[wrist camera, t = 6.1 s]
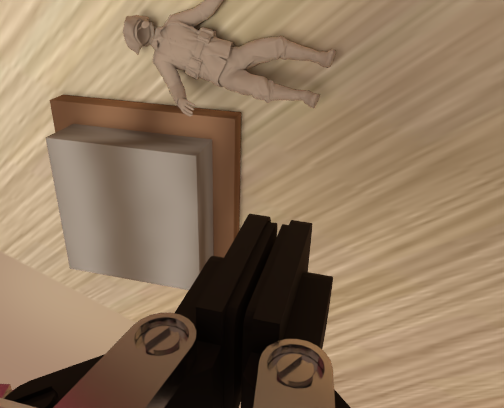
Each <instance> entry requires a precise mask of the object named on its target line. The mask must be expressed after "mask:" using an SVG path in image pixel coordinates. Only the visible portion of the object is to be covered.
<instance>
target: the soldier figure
mask: <svg viewBox="0 0 504 408" xmlns="http://www.w3.org/2000/svg"><path fill="white" fill-rule="evenodd" d="M222 1H223V0H204V1H203V2H201V4H199V5H197V6H196V7H194V8H192V9H188V10H185V11H182V12H179V13H176V14H173V15H170V16H169V18H168V19H167V21H166V22H165V25H164V26H163V27H157V28H156V27H155V28H156V30H155V34H154V27H153V26H152V25H153V24H154V22H151V23H149V22H148V20H149V18H148V17H144V16H138V15H135V16H127V17H126V20H125V22H124V29H123V34H124V37H125V41H126V44H127V46H128V47H129V48H130V49H131V50H133V51H135V52H136V54H137V55H138V54H139V51H140V49H141V47H142V46H149V45H151V46H152V47H153V48H154V49H155V53H154V57H153V63H154V64H155V65H156V67H157V69H158V70H159V72H160V74H161V76H162V77H163V79H164V81H165V83H166V84H167V86H168V88H169V92H170V94H171V95H172V97H173V99H174V101H175V103H176V104H177V106H178V107H179V108H180V109H181V111H182V112H183V113H184V114H186V115H188V116H190V117H191V116H193V114H192V113H193V112H192V111H190V110H189V109H191V110H194V108H192V107H191V106H189V105H188V104H190V105H192V106H195V104H193V103H191V102H189V101H188V100H187V97H186V92H185V89H184V86H183V83H182V82H181V79H180V76H179V73H178V71H177V70H176V69H181V70H185V73H186V74H188V75H190V76H191V77H193V78H195V79H196V80H197V79H198V78H199V77H200V78H202V79H205V80H207V81H211V82H212V83H213V84H215V85H216V86H219V87H225V88H226V89H228V90H231V91H234V92H238V93H240V94H243V95H252V96H253V97H254V98H256V99H260V100H265V101H266V102H267V103H269V102H270V101H272V100H293V101H294V100H303V101H304V103H306V104H308V105H309V106H310V107H312V108H315V106H316V104H317V102H318V100H319V97H320V94H316V93H313V92H311V91H306V90H296V89H291V88H288V87H285V86H282V85H279V84H275V83H274V82H273V81H272V80H267V78H266V77H263V76H259V75H254V74H250V73H249V72H247V71H245V70H247V69H249V68H251V67H253V66H256V65H257V64H259V63H264V62H268V61H271V60H273V59H279V58H280V57H281V58H282V59H293V60H310V61H313V62H318V63H319V64H320V65H321V66H323V67H327V68H328V67H330V66H331V64H332V62H333V60H334V57H335V55H336V50H332V49H331V50H329V51H328V52H324V51H322V52H319V51H316V50H314V49H312V48H307V47H304V46H302V45H299V44H297V43H294V42H292V41H288V40H287V39H286V38H284V37H283V36H279V37H269V38H260V39H256V40H253V41H250V42H247V43H246V44H244V45H242V46H240V47H235V45H234V43H233V42H231V41H226V40H222V39H219V38H217V37H216V31H214V30H211V29H208V28H204V27H202V28H200V30H197V29H195V28H194V27H195V26H197V25H198V24H199V23H202V22H203V21H205V20H207V19H209V17H211V16H212V15H213V14H214V13H215V11H216V10H217V9H218V7H219V6H220V4H221V3H222ZM152 23H153V24H152ZM153 36H154V38H153ZM152 39H153V40H152ZM187 107H188V108H189V109H188V108H187Z"/></svg>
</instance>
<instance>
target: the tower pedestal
mask: <svg viewBox="0 0 504 408" xmlns="http://www.w3.org/2000/svg"><path fill="white" fill-rule="evenodd" d="M50 103H51V109H52V115H53V121H54V126H55V132H56V133H54V134H52V135H50V136H48V137H46V142H47V148H48V153H49V158H50V164H51V169H52V174H53V180H54V185H55V191H56V196H57V201H58V207H59V212H60V218H61V223H62V228H63V234H64V239H65V245H66V250H67V255H68V261H69V266H70V269H76V270H81V271H87V272H92V273H98V274H103V275H109V276H114V277H119V278H125V279H130V280H136V281H141V282H147V283H152V284H158V285H163V286H169V287H174V288H180V289H185V290H189V289H190V288H191V286H192V285H193V283H194V281H195V280H196V278H197V277H198V275H199V273H200V272H201V270H202V269H203V267H204V265H205V264H206V262H207V261H208V259H209V258H210V257H211V256H218V257H225V255H226V253H227V251H228V250H229V248H230V246H231V244H232V243H233V241H234V239H235V237H236V236H237V234H238V232H239V205H240V151H241V112H231V111H221V110H211V109H201V108H194V110H191V109H189V108H188V107H187V108H188V109H189V110H190V111H192V112H193V113H192V114H193V116H191V117H190V116H188V115H186V114H184V113H183V112H182V111H181V109H180V108H179V107H178V106H171V105H160V104H150V103H140V102H130V101H120V100H110V99H100V98H90V97H80V96H70V95H61V96H59V97H56V98H54V99H51V100H50Z"/></svg>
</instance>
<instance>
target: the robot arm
mask: <svg viewBox="0 0 504 408" xmlns="http://www.w3.org/2000/svg"><path fill="white" fill-rule="evenodd" d="M311 234H312V223H307V222H300V221H294V220H291V222H290V224H289V225H284V224H282V226H281V229H280V231H279V234H278V236H277V223H271V219H270V217H267V216H261V215H254V214H249V215H248V217H247V218H246V220H245V222H244V224H243V225H242V227H241V229H240V231H239V232H238V234H237V236H236V237H235V239H234V241H233V243H232V244H231V246H230V248H229V250H228V251H227V253H226V255H225V257H218V256H211V257H210V258H209V259H208V261H207V262H206V264H205V265H204V267H203V269H202V270H201V272H200V273H199V275H198V277H197V278H196V280H195V281H194V283H193V285H192V286H191V288H190V289H189V291H188V293H187V294H186V296H185V297H184V299H183V301H182V302H181V304H180V305H179V307H178V309H177V310H176V312H175V313H157V314H153V315H149V316H147V317H145V318H143V319H141V320H139V321H138V322H137V323H135V324H134V325H133V326H132V327H131V328H130V329H129V330H128V331H127V332H126V333H125V334H124V335H123V336H122V337H121V338H120V339H119V341H117V343H116V344H115V345H114V346H113V347H112V348H111V349H110V350H109V351H108V352H107V353H106V354H104V355H102V356H99V357H96V358H93V359H90V360H88V361H85V362H82V363H79V364H76V365H73V366H71V367H68V368H65V369H62V370H59V371H56V372H54V373H51V374H48V375H45V376H42V377H39V378H37V379H34V380H31V381H29V382H27V383H25V384H23V385H20V386H19V387H17V388H16V389H14V390H12V389H11V386H10V384H0V408H239V405H240V402H241V408H350V407H349V405H348V404H347V403H346V402H345V401H344V400H343V399H342V398H341V396H340V395H339V394H338V393H337V392H336V391H335V390H334V379H333V367H332V363H331V360H330V359H329V357H328V356H327V354H326V353H325V352H324V351H323V350H322V347H323V342H324V336H325V330H326V324H327V318H328V311H329V304H330V297H331V290H332V282H333V277H332V276H326V275H320V274H315V273H309V272H308V263H309V253H310V243H311Z"/></svg>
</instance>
